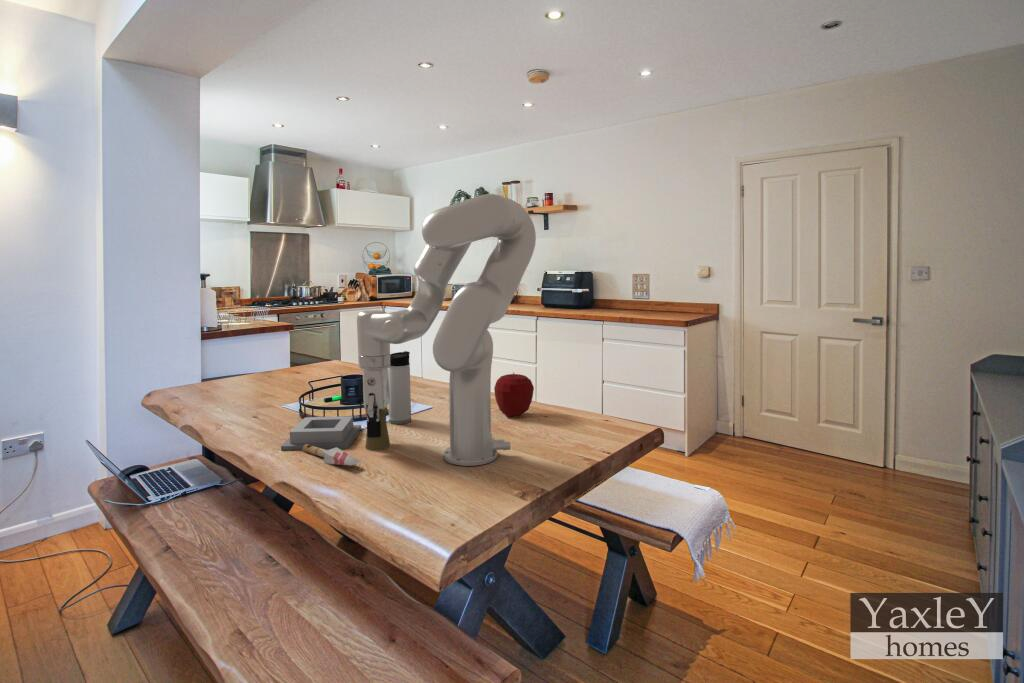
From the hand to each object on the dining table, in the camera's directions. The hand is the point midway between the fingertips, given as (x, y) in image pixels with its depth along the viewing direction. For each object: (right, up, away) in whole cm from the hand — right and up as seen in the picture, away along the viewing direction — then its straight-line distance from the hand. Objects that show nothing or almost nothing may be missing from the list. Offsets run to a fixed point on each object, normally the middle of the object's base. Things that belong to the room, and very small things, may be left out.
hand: (377, 431), depth 132 cm
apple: (+34, 0, +27) cm, 43 cm away
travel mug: (+1, -1, +22) cm, 22 cm away
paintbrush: (-9, -6, -8) cm, 13 cm away
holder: (-15, -3, +6) cm, 17 cm away
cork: (0, -4, +1) cm, 4 cm away
